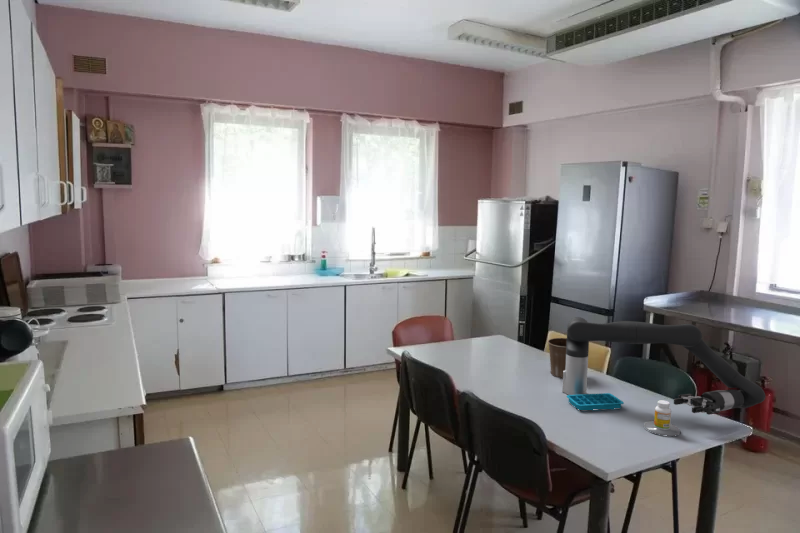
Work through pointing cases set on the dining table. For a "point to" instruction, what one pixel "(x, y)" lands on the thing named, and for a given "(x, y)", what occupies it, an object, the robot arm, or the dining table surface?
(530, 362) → the dining table surface
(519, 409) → the dining table surface
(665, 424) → the supplement bottle
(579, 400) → the ice cube tray
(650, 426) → the coaster
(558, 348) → the plant pot
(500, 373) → the dining table surface
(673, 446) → the dining table surface
